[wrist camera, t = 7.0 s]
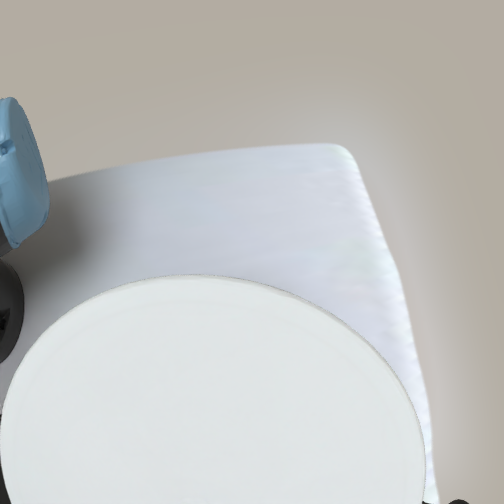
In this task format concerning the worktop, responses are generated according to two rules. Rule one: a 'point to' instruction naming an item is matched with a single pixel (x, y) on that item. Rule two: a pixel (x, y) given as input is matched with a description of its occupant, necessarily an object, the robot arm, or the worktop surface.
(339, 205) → the worktop surface
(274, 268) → the worktop surface
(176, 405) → the supplement tub
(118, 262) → the worktop surface
